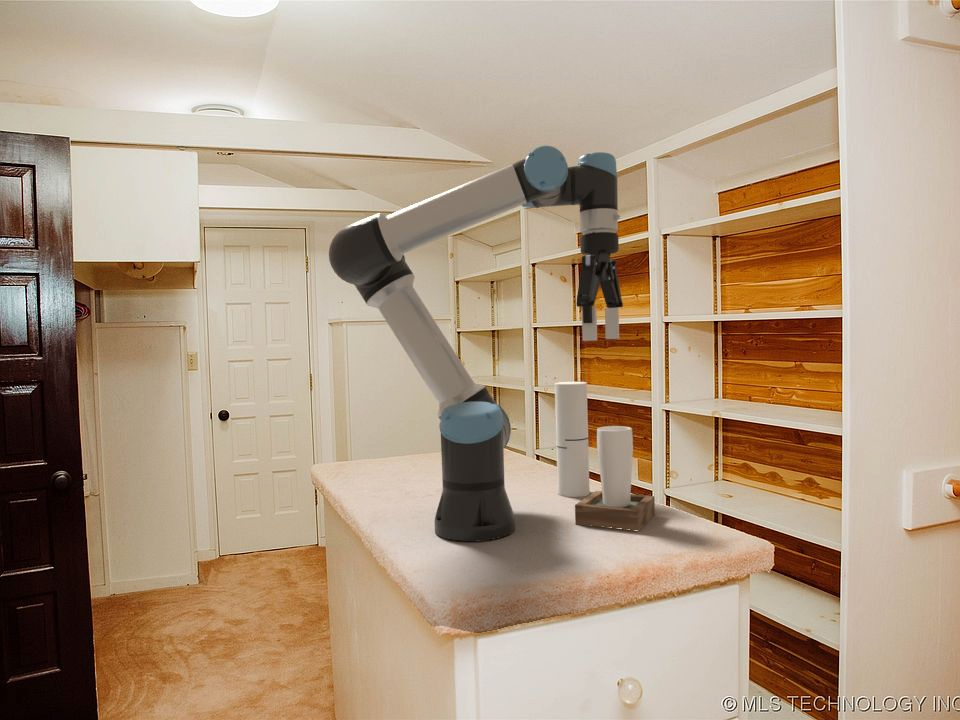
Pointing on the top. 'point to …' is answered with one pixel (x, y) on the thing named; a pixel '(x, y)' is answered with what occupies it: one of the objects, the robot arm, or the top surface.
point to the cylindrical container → (572, 439)
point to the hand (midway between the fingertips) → (601, 340)
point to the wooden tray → (615, 512)
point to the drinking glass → (615, 464)
